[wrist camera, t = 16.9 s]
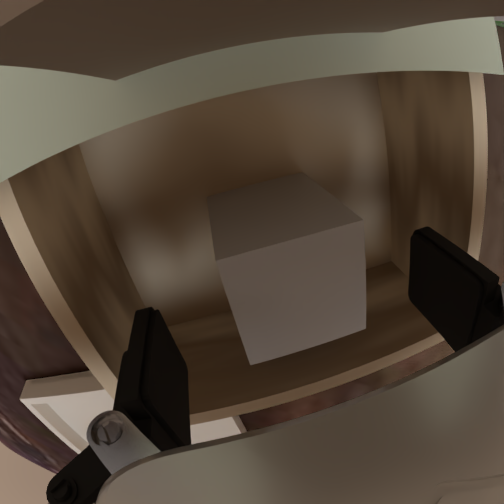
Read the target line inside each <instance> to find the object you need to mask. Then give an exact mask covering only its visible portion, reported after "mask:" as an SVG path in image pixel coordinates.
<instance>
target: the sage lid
mask: <svg viewBox="0 0 504 504" xmlns="http://www.w3.org/2000/svg"><path fill="white" fill-rule="evenodd" d="M496 16H504V0H0V183H1V182H3V181H4V180H6V179H8V178H10V177H12V176H13V175H15V174H17V173H19V172H21V171H23V170H25V169H27V168H28V167H30V166H32V165H34V164H36V163H38V162H40V161H42V160H44V159H47V158H49V157H51V156H53V155H55V154H57V153H59V152H61V151H64V150H66V149H68V148H70V147H73V146H75V145H77V144H79V143H82V142H84V141H86V140H89V139H91V138H94V137H96V136H99V135H101V134H104V133H106V132H109V131H111V130H114V129H117V128H119V127H122V126H125V125H127V124H130V123H133V122H136V121H139V120H142V119H145V118H148V117H151V116H154V115H157V114H160V113H163V112H166V111H169V110H173V109H176V108H179V107H183V106H186V105H190V104H193V103H197V102H201V101H204V100H208V99H212V98H216V97H220V96H224V95H228V94H233V93H237V92H241V91H246V90H251V89H255V88H260V87H265V86H271V85H276V84H282V83H288V82H294V81H300V80H307V79H314V78H321V77H329V76H338V75H348V74H359V73H372V72H389V71H462V72H478V73H490V74H500V75H504V72H503V64H502V57H501V51H500V45H499V40H498V34H497V29H496V25H495V20H494V17H496Z"/></svg>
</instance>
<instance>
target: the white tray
mask: <svg viewBox="0 0 504 504" xmlns="http://www.w3.org/2000/svg"><path fill="white" fill-rule="evenodd" d="M20 400H21V401H22V402H23V403H24V404H25V406H26V407H27V408H28V409H29V410H30V411H31V412H32V413H33V414H34V415H35V416H36V417H37V418H38V419H39V420H40V421H42V422H43V423H44V424H45V425H46V426H47V427H48V428H49V429H50V430H51V431H52V432H53V433H54V434H56V435H57V436H58V437H59V438H60V439H61V440H62V441H63V442H65V443H66V444H67V445H68V446H69V447H70V448H72V449H73V450H74V451H75V452H76V453H78V454H80V453H81V452H82V451H83V450H84V449H85V448H86V447H87V446H88V445H89V443H88V441H87V435H86V432H87V429H88V426H89V424H90V423H91V421H92V420H93V419H94V418H95V417H96V416H97V415H99V414H101V413H102V412H105V411H109V410H113V406H114V400H113V398H112V397H111V396H110V395H109V394H108V392H107V391H106V390H105V389H104V388H103V386H102V385H101V384H100V382H99V381H98V380H97V379H96V377H95V376H94V375H93V374H92V372H91V371H84V372H78V373H72V374H66V375H59V376H53V377H46V378H39V379H31V380H26V383H25V385H24V388H23V391H22V393H21V396H20ZM190 430H191V445H192V444H196V443H200V442H205V441H210V440H215V439H219V438H224V437H228V436H232V435H237V434H241V433H245V432H247V430H246V429H245V427H244V425H243V423H242V421H241V419H240V417H239V415H237V416H233V417H228V418H224V419H219V420H215V421H210V422H205V423H200V424H195V425H190Z"/></svg>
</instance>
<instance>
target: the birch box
mask: <svg viewBox="0 0 504 504" xmlns="http://www.w3.org/2000/svg"><path fill="white" fill-rule="evenodd" d="M487 159H488V141H487V113H486V99H485V88H484V79H483V73H478V72H462V71H389V72H372V73H359V74H348V75H338V76H329V77H321V78H314V79H307V80H300V81H294V82H288V83H282V84H276V85H271V86H265V87H260V88H255V89H251V90H246V91H241V92H237V93H233V94H228V95H224V96H220V97H216V98H212V99H208V100H204V101H201V102H197V103H193V104H190V105H186V106H183V107H179V108H176V109H173V110H169V111H166V112H163V113H160V114H157V115H154V116H151V117H148V118H145V119H142V120H139V121H136V122H133V123H130V124H127V125H125V126H122V127H119V128H117V129H114V130H111V131H109V132H106V133H104V134H101V135H99V136H96V137H94V138H91V139H89V140H86V141H84V142H82V143H79V144H77V145H75V146H73V147H70V148H68V149H66V150H64V151H61V152H59V153H57V154H55V155H53V156H51V157H49V158H47V159H44V160H42V161H40V162H38V163H36V164H34V165H32V166H30V167H28V168H27V169H25V170H23V171H21V172H19V173H17V174H15V175H13V176H12V177H10V178H8V179H6V180H4V181H3V182H1V183H0V217H1V219H2V222H3V224H4V226H5V228H6V231H7V233H8V235H9V237H10V239H11V241H12V244H13V246H14V248H15V250H16V252H17V254H18V256H19V258H20V260H21V262H22V264H23V266H24V267H25V269H26V271H27V273H28V275H29V277H30V279H31V280H32V282H33V284H34V286H35V288H36V289H37V291H38V293H39V295H40V296H41V298H42V300H43V301H44V303H45V305H46V306H47V308H48V310H49V311H50V313H51V314H52V316H53V318H54V319H55V321H56V322H57V324H58V325H59V327H60V329H61V330H62V332H63V333H64V335H65V336H66V338H67V339H68V340H69V342H70V343H71V345H72V346H73V348H74V349H75V350H76V352H77V353H78V355H79V356H80V357H81V359H82V360H83V362H84V363H85V364H86V366H87V367H88V368H89V370H90V371H91V372H92V374H93V375H94V376H95V377H96V379H97V380H98V381H99V382H100V384H101V385H102V386H103V388H104V389H105V390H106V391H107V392H108V394H109V395H110V396H111V397H112V398H113V400H115V393H116V388H117V382H118V376H119V371H120V366H121V360H122V356H123V353H124V352H125V351H127V350H128V345H129V340H130V335H131V330H132V325H133V320H134V316H135V312H136V311H137V310H140V309H144V308H148V307H152V308H153V309H154V310H157V309H158V310H159V311H160V313H161V315H162V317H163V319H164V321H165V323H166V325H167V327H168V329H169V331H170V333H171V335H172V337H173V339H174V341H175V343H176V345H177V347H178V349H179V351H180V353H181V355H182V357H183V358H184V360H185V362H186V365H187V368H188V387H189V411H190V425H195V424H200V423H205V422H210V421H215V420H219V419H224V418H228V417H233V416H237V415H241V414H245V413H250V412H253V411H257V410H261V409H265V408H269V407H272V406H276V405H279V404H283V403H286V402H290V401H293V400H296V399H300V398H303V397H306V396H309V395H312V394H315V393H318V392H321V391H324V390H327V389H330V388H333V387H336V386H339V385H341V384H344V383H347V382H350V381H352V380H355V379H358V378H360V377H363V376H365V375H368V374H370V373H373V372H375V371H378V370H380V369H383V368H385V367H387V366H390V365H392V364H394V363H397V362H399V361H401V360H404V359H406V358H408V357H410V356H412V355H415V354H417V353H419V352H421V351H423V350H425V349H427V348H429V347H431V346H433V345H436V344H438V343H440V342H442V341H444V340H445V339H444V338H443V337H442V336H441V335H440V334H439V332H438V331H437V330H436V329H435V328H434V327H433V326H432V324H431V323H430V322H429V321H428V320H427V319H426V318H425V317H424V316H423V315H422V313H421V312H420V311H419V310H418V309H417V308H416V307H415V306H414V305H413V304H412V303H411V301H410V299H409V297H408V286H409V267H410V238H411V236H412V235H413V232H414V231H415V230H417V229H420V228H423V227H427V226H428V227H430V228H432V229H433V230H435V231H436V232H438V233H439V234H441V235H442V236H444V237H445V238H447V239H448V240H449V241H451V242H452V243H454V244H455V245H457V246H458V247H459V248H461V249H462V250H464V251H465V252H466V253H468V254H469V255H471V256H472V257H473V258H475V259H476V260H477V261H478V259H479V252H480V246H481V239H482V231H483V223H484V213H485V202H486V187H487ZM301 172H303V173H304V174H305V175H307V176H308V177H309V178H311V179H312V180H313V181H315V182H316V183H317V184H319V185H320V186H321V187H323V188H324V189H325V190H327V191H328V192H329V193H330V194H332V195H333V196H334V197H336V198H337V199H338V200H339V201H341V202H342V203H343V204H344V205H346V206H347V207H348V208H349V209H351V210H352V211H353V212H354V213H356V214H357V215H358V216H359V217H361V218H362V219H363V221H364V238H365V261H366V329H364V330H361V331H358V332H355V333H353V334H350V335H347V336H344V337H341V338H338V339H335V340H332V341H329V342H326V343H323V344H320V345H317V346H314V347H311V348H308V349H305V350H302V351H298V352H295V353H292V354H289V355H285V356H282V357H278V358H275V359H272V360H268V361H264V362H261V363H257V364H254V365H250V363H249V360H248V357H247V354H246V351H245V348H244V345H243V343H242V340H241V337H240V334H239V331H238V328H237V325H236V322H235V319H234V316H233V313H232V310H231V307H230V304H229V301H228V298H227V295H226V292H225V289H224V286H223V283H222V280H221V276H220V273H219V270H218V267H217V264H216V261H215V254H214V247H213V240H212V233H211V225H210V218H209V211H208V203H207V197H208V196H211V195H215V194H218V193H222V192H226V191H229V190H233V189H237V188H241V187H244V186H248V185H252V184H256V183H260V182H264V181H268V180H272V179H276V178H280V177H284V176H288V175H292V174H297V173H301Z"/></svg>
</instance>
